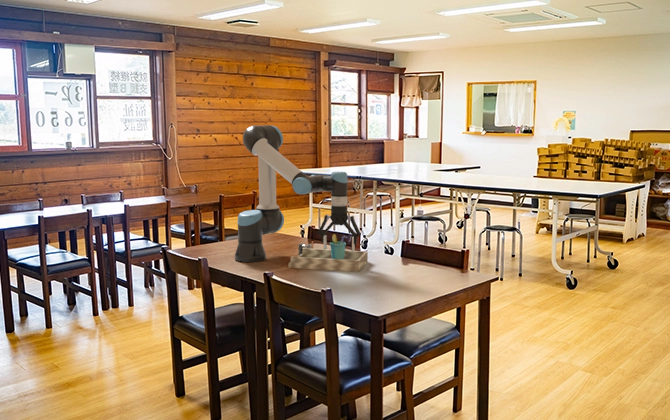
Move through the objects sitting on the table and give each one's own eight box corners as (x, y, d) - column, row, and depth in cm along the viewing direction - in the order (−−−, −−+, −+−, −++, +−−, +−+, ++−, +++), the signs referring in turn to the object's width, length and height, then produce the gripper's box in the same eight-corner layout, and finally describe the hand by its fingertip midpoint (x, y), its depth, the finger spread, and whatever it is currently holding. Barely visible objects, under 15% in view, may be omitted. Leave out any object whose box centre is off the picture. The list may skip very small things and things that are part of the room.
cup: (354, 266, 291) (354, 235, 289) (341, 269, 286) (341, 237, 284) (336, 261, 302) (336, 230, 300) (323, 263, 298) (323, 232, 295)
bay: (288, 267, 290) (288, 256, 289) (300, 258, 309) (300, 248, 308) (359, 271, 282) (359, 260, 281) (367, 261, 301) (367, 251, 301)
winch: (298, 256, 313) (297, 241, 312) (300, 254, 318) (300, 239, 317) (311, 257, 311) (311, 242, 310) (314, 255, 316) (314, 240, 315)
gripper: (311, 205, 289) (311, 250, 293) (364, 207, 284) (363, 253, 287) (315, 203, 297) (315, 247, 300) (367, 205, 291) (366, 249, 294)
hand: (339, 250), depth 293 cm, fingers open, 13 cm apart
